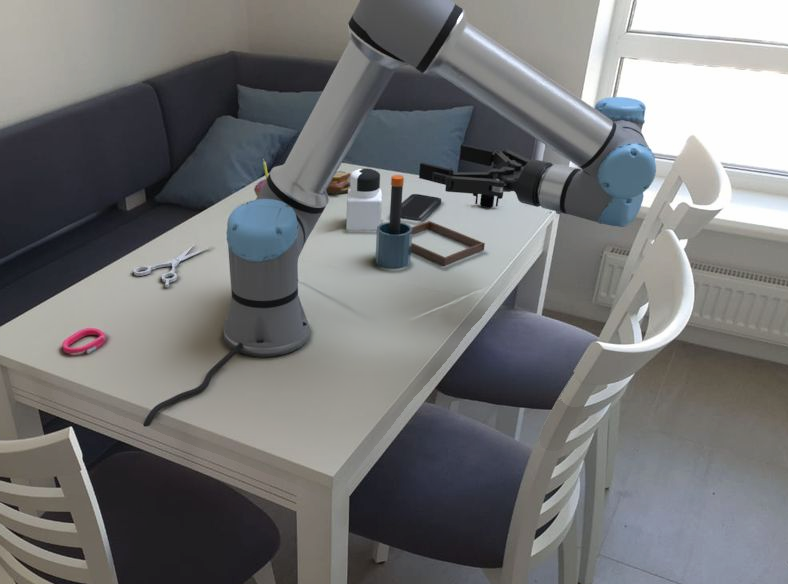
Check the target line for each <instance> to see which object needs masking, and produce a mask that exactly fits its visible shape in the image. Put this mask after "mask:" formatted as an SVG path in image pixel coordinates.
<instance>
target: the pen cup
mask: <svg viewBox="0 0 788 584" xmlns="http://www.w3.org/2000/svg"><path fill="white" fill-rule="evenodd" d="M389 224H390V221H386V222H383V223H382V222H381V224H380V225H379V226H377V230H376V239H375V263H376V264H377V265H378V266H379V267H381V268H385V269H402V268H405V267H408V266H409V265H410V264H411V259H412V258H411V255H412V251H411V244H412V243H413V235H412V227H413V226H411V225H410V224H407V223H406V222H400V234H398V235H394V234H389Z"/></svg>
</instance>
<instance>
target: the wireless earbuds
mask: <svg viewBox="0 0 788 584" xmlns="http://www.w3.org/2000/svg"><path fill="white" fill-rule="evenodd" d="M472 196H473V197H475V201H474V204H475V205H478V199H479V194H472ZM503 196H504V195H503ZM503 196H502V197H497V196H496V199H495V196H492V195H484V194H480V201H479V205H480V207H482V208H490V209H491V208H493V207H494V205H495V207H498V206H499V200H501V199H503ZM494 202H495V204H494Z"/></svg>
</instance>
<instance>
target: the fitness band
mask: <svg viewBox="0 0 788 584" xmlns="http://www.w3.org/2000/svg"><path fill="white" fill-rule="evenodd" d="M91 335H92V336H98V337H96V338H95V339H94V340H92V341H91V342H89V343H87V344H85V345H83V346H80V347H79V346H78V347H71V345H72V344H73V343H75V342H77V341H78V340H80V339H82V338H84V337H86V336H91ZM106 340H107V338H106V334H105V333H104V332H103V331H102V330H100V329H98V328H96V327H87V328H83V329H80V330H78V331H76V332H74V333H73V334H71V335H70V336H68V337H66V339H64V340H63V342H62V350H63V352H64V353H66V354H79V353H83V352H85V354H87V355H89V354H91V353H92V352H94V351H96V350H97V349H99V348H100V347H101V346H102V345H104V344H105V342H106Z"/></svg>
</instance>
